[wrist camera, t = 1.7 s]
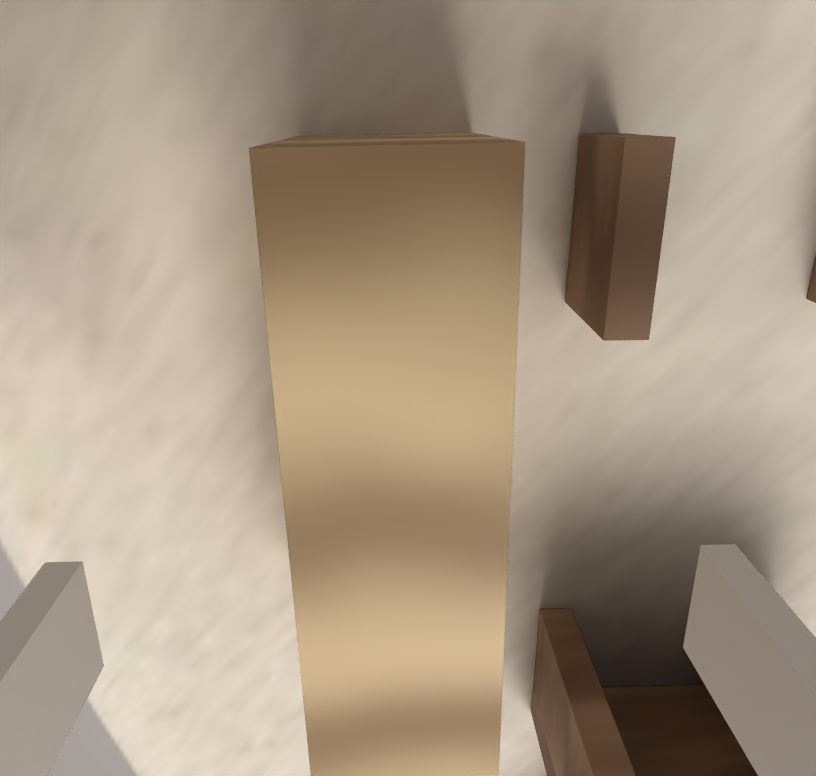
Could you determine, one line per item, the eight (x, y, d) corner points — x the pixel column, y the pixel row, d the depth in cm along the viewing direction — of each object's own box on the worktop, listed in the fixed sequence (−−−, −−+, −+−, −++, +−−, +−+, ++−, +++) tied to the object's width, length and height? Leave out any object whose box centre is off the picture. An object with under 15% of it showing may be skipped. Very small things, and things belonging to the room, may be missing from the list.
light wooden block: (298, 136, 20) (249, 148, 12) (471, 132, 20) (525, 142, 12) (331, 590, 26) (311, 784, 18) (464, 585, 26) (498, 775, 18)
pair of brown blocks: (579, 133, 20) (625, 137, 16) (882, 132, 20) (995, 135, 16) (565, 302, 22) (603, 340, 18) (843, 298, 22) (937, 335, 18)
